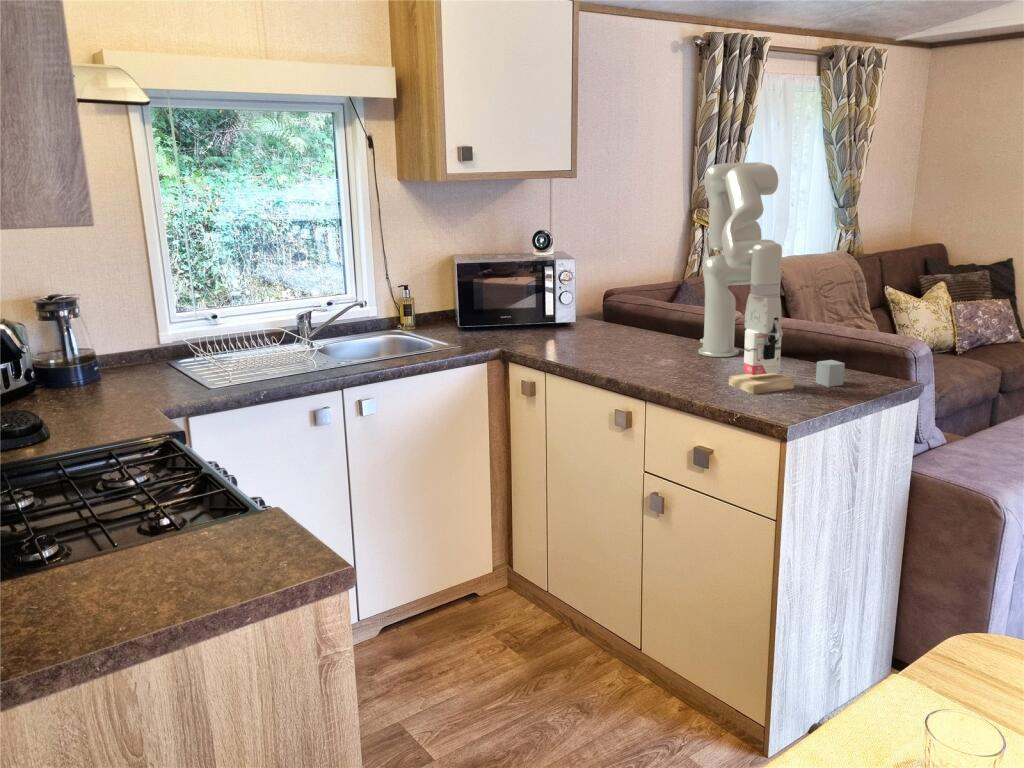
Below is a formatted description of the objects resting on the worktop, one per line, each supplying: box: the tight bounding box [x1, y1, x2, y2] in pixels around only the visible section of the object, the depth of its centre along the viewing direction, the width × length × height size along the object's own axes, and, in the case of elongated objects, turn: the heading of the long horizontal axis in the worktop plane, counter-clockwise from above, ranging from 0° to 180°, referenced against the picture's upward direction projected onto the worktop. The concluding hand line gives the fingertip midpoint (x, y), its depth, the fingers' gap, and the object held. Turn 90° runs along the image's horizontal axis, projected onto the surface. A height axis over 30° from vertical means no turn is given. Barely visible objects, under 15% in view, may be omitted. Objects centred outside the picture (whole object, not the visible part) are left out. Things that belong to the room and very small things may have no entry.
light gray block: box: [815, 359, 846, 388], centre depth 218 cm, size 5×5×6 cm
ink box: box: [743, 329, 782, 375], centre depth 216 cm, size 9×5×12 cm, turn 105°
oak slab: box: [728, 373, 795, 395], centre depth 218 cm, size 11×13×3 cm
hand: (761, 356), depth 216 cm, fingers closed on ink box, 5 cm apart
